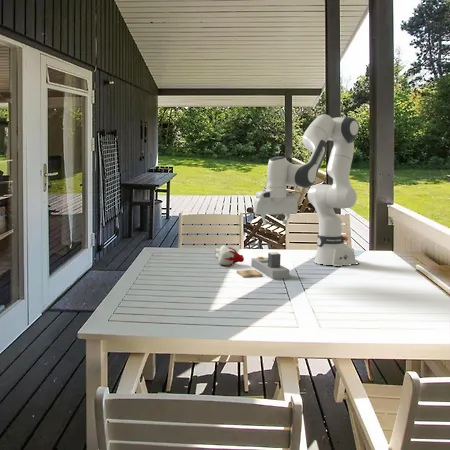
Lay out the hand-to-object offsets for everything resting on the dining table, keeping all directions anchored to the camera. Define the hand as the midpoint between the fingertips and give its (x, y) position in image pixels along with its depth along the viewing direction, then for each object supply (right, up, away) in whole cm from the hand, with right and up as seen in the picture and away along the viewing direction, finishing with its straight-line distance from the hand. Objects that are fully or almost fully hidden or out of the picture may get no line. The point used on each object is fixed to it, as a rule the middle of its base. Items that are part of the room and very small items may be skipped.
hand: (275, 224), depth 242 cm
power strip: (-3, -22, +11) cm, 24 cm away
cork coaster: (-11, -23, +2) cm, 26 cm away
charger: (0, -20, +3) cm, 21 cm away
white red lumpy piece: (-21, -20, +21) cm, 36 cm away
